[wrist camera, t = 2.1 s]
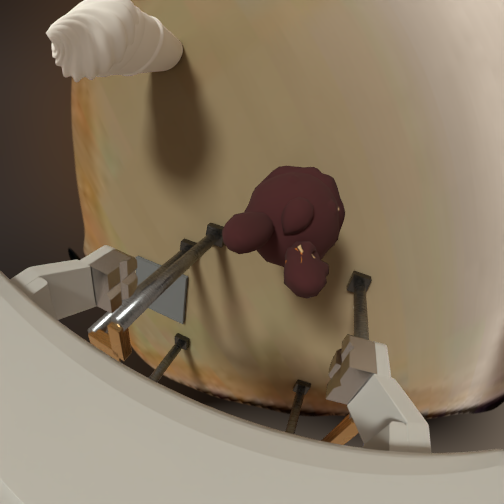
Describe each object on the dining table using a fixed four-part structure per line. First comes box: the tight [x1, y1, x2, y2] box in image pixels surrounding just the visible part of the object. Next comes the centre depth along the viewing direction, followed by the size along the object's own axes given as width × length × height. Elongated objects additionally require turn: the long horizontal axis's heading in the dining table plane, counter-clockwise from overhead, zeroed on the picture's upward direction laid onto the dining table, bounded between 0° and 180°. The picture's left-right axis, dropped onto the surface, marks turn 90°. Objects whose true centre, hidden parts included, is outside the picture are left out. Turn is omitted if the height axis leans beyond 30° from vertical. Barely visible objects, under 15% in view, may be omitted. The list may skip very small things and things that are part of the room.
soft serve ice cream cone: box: [46, 0, 183, 82], centre depth 16 cm, size 8×8×16 cm
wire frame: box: [88, 223, 372, 445], centre depth 26 cm, size 21×21×17 cm
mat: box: [136, 256, 188, 324], centre depth 36 cm, size 8×8×1 cm
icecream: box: [222, 166, 345, 298], centre depth 19 cm, size 7×7×15 cm
